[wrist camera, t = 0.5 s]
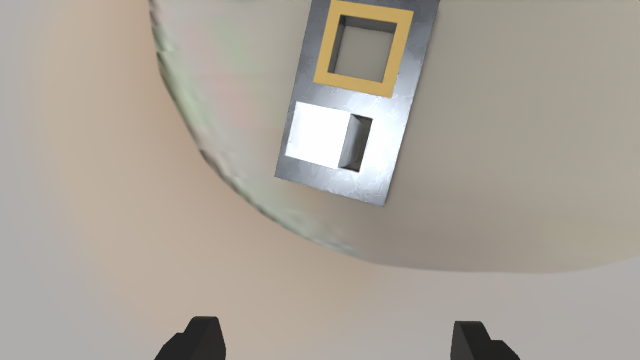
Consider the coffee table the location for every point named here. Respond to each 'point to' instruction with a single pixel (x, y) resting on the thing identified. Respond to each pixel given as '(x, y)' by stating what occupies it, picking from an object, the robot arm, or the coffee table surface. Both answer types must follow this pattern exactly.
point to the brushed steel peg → (324, 136)
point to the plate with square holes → (359, 90)
